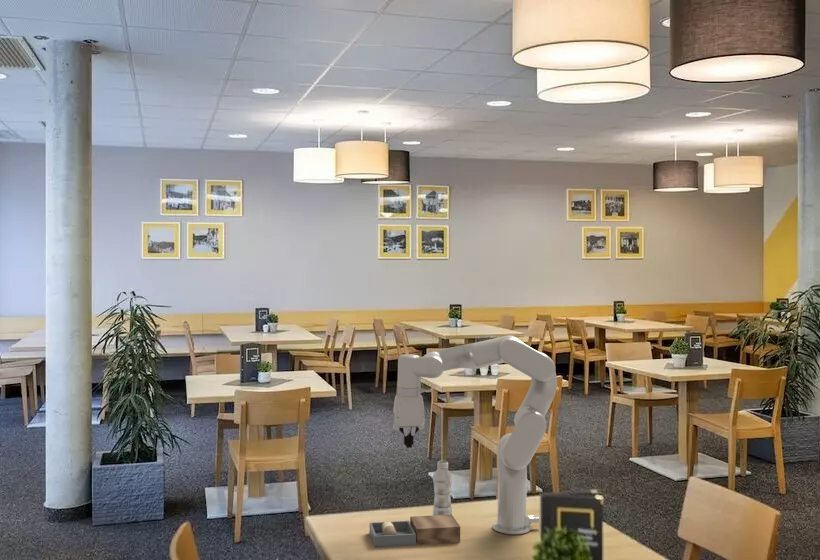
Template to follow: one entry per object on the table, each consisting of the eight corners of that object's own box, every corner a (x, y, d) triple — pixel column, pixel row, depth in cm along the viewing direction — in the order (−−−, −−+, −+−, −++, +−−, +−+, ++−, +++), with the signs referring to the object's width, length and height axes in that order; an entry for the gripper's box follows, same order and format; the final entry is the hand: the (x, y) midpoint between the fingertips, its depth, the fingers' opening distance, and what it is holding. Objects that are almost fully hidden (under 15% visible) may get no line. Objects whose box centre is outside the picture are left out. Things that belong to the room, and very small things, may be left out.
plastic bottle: (450, 523, 277) (451, 465, 276) (430, 522, 278) (431, 463, 277) (453, 517, 283) (454, 460, 282) (434, 516, 285) (434, 459, 284)
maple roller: (392, 520, 265) (380, 522, 265) (396, 528, 258) (384, 530, 257) (394, 532, 266) (381, 534, 265) (398, 541, 258) (385, 543, 257)
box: (408, 531, 269) (408, 520, 269) (415, 545, 256) (416, 534, 256) (369, 533, 267) (369, 522, 267) (374, 547, 254) (374, 536, 254)
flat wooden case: (451, 529, 271) (451, 514, 271) (460, 542, 259) (460, 526, 259) (410, 531, 269) (410, 516, 268) (416, 544, 257) (416, 528, 257)
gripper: (429, 389, 276) (428, 443, 277) (385, 390, 273) (384, 445, 274) (433, 393, 268) (433, 449, 269) (388, 394, 266) (388, 450, 267)
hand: (408, 446), depth 272 cm, fingers closed
